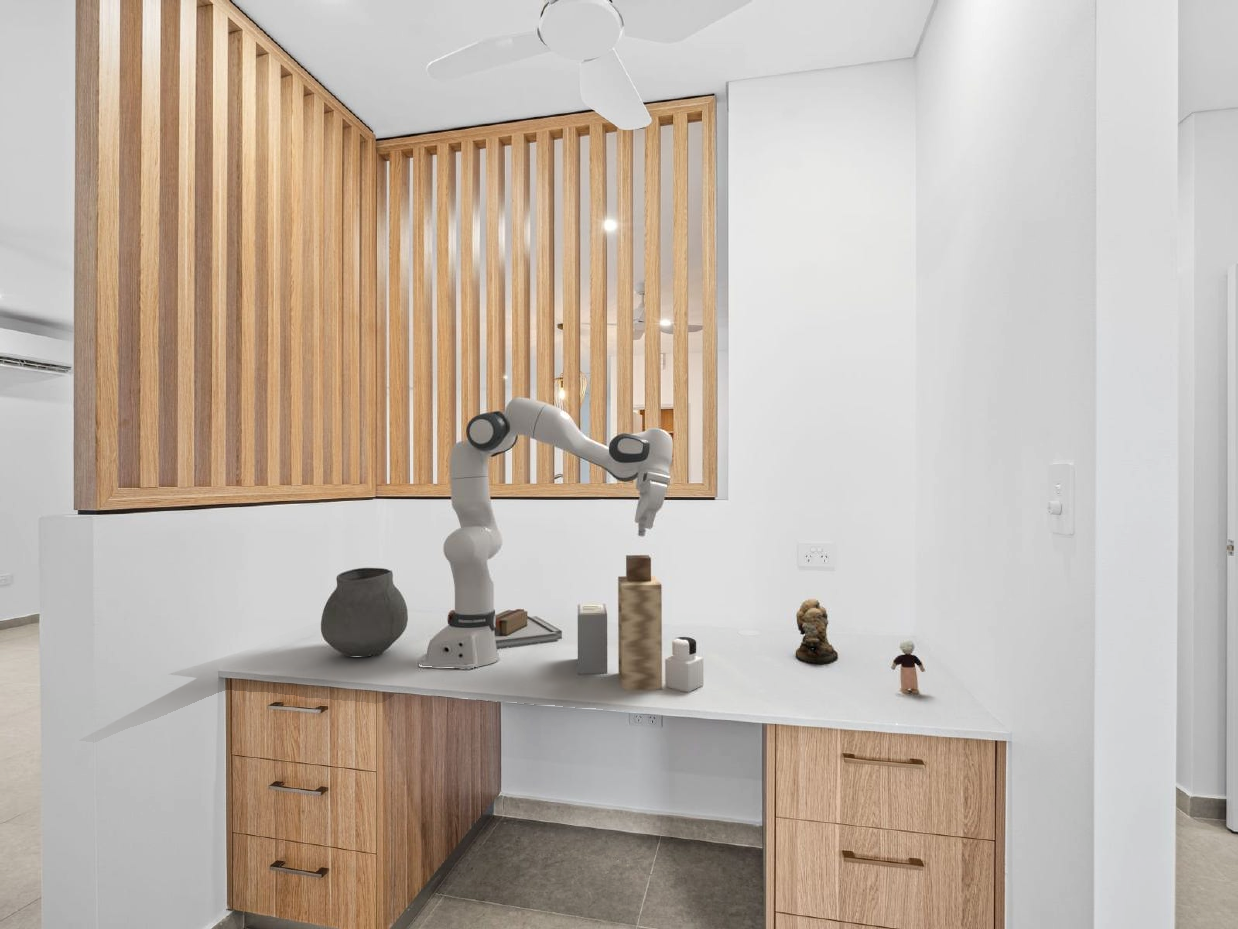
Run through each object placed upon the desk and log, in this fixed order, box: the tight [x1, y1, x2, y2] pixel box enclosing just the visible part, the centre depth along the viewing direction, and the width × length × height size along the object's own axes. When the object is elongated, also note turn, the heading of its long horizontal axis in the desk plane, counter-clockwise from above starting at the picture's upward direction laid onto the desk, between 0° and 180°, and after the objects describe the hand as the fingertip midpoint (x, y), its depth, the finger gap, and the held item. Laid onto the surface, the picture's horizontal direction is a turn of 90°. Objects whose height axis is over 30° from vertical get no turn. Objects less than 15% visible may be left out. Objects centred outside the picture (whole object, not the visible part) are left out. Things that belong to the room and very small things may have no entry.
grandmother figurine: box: [890, 639, 926, 694], centre depth 155 cm, size 8×4×13 cm, turn 92°
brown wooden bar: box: [625, 554, 652, 582], centre depth 172 cm, size 6×18×6 cm, turn 4°
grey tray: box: [494, 608, 563, 650], centre depth 212 cm, size 30×30×8 cm
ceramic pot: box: [320, 567, 409, 657], centre depth 190 cm, size 24×24×25 cm
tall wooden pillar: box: [617, 575, 663, 691], centre depth 164 cm, size 10×14×26 cm
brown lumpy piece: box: [795, 598, 839, 665], centre depth 186 cm, size 18×12×17 cm, turn 159°
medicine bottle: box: [664, 636, 704, 693], centre depth 160 cm, size 7×7×12 cm
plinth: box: [577, 603, 608, 675], centre depth 177 cm, size 8×14×16 cm, turn 4°
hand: (644, 532), depth 171 cm, fingers open, 8 cm apart
